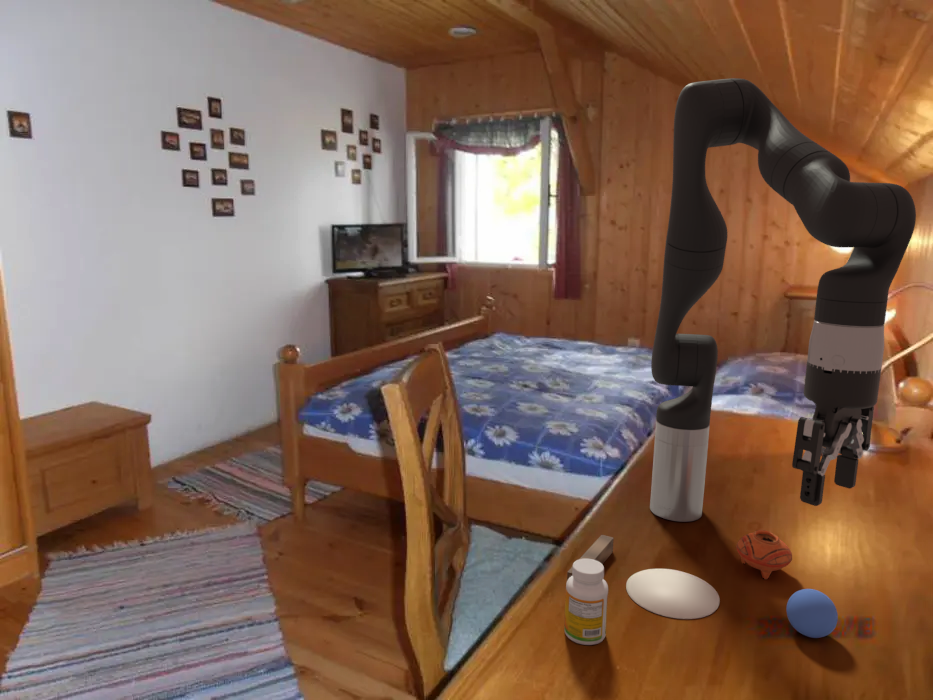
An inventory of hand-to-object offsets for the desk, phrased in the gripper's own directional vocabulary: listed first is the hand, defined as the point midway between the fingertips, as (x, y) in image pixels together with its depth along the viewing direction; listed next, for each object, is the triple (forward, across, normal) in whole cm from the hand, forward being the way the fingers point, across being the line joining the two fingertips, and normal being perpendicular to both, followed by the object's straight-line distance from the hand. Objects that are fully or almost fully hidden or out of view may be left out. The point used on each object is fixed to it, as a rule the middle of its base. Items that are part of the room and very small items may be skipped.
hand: (827, 494), depth 81 cm
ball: (+18, -5, -2) cm, 19 cm away
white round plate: (+21, +2, -19) cm, 29 cm away
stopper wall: (+21, +6, -31) cm, 38 cm away
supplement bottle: (+22, +19, -20) cm, 35 cm away
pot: (+22, -15, -15) cm, 30 cm away
